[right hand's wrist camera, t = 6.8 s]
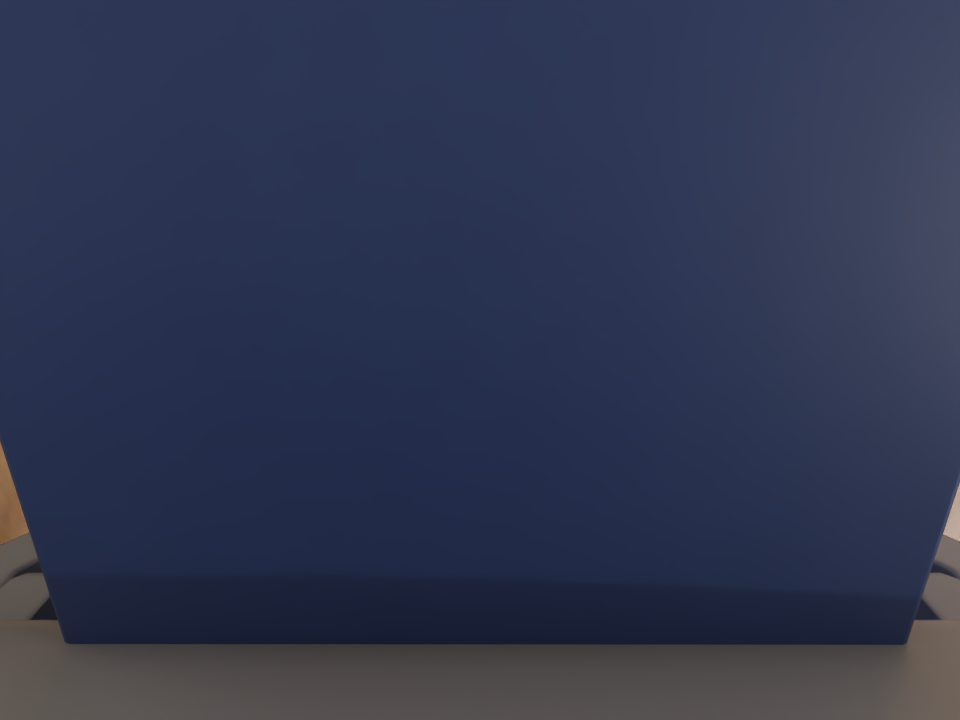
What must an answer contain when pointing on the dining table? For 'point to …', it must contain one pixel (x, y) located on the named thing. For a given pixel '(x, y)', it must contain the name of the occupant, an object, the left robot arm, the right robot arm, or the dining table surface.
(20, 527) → the dining table surface
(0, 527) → the dining table surface
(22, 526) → the dining table surface
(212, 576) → the box
